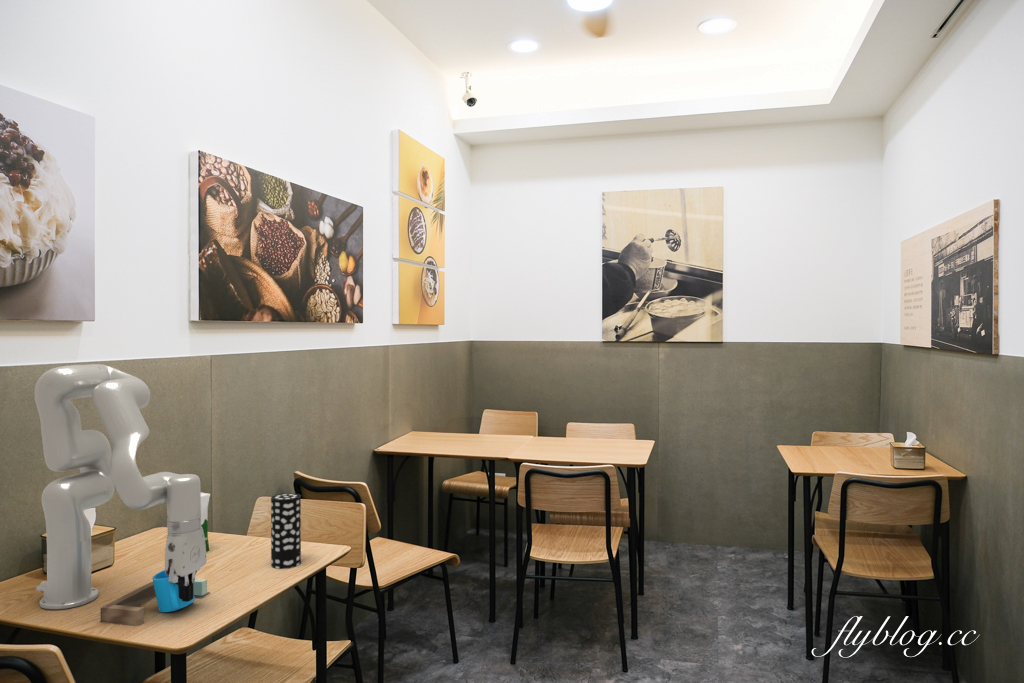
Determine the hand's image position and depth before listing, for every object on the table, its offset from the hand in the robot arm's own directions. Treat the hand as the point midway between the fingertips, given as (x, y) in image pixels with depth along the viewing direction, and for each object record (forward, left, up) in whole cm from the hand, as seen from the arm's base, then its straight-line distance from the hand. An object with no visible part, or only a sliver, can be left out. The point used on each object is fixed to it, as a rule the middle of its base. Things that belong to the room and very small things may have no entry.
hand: (185, 599), depth 168 cm
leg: (-7, +9, -2) cm, 12 cm away
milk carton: (-27, +40, -3) cm, 48 cm away
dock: (-8, +1, -3) cm, 9 cm away
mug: (-2, 0, -2) cm, 3 cm away
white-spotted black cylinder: (+7, +36, -3) cm, 37 cm away
